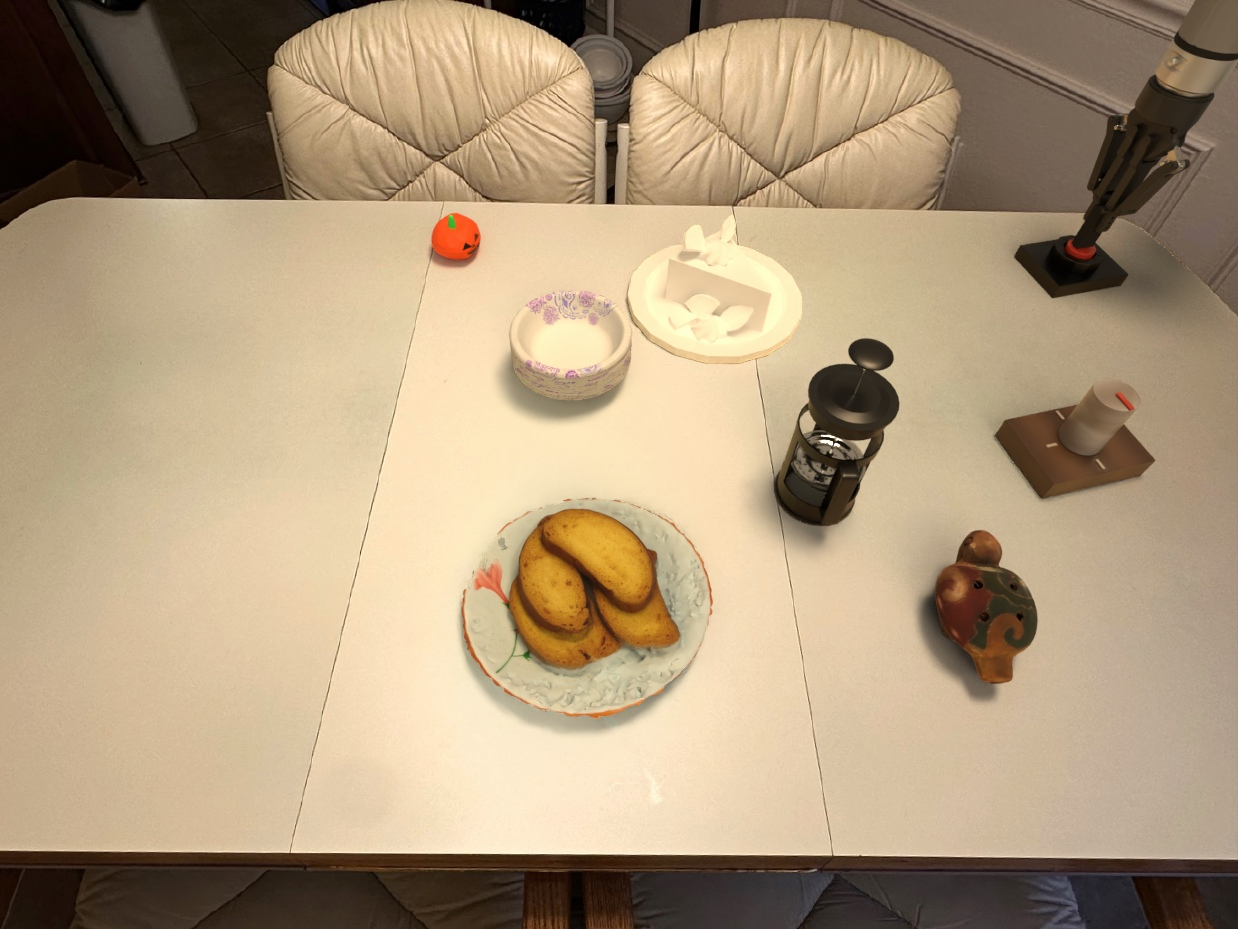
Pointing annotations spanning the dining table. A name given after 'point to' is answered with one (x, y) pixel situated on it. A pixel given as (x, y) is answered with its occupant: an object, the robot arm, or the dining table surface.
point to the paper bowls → (571, 344)
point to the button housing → (1069, 268)
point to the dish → (714, 299)
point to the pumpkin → (455, 236)
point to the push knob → (1079, 251)
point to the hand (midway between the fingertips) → (1082, 244)
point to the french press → (839, 433)
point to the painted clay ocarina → (985, 607)
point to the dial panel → (1068, 454)
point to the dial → (1098, 416)
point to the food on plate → (587, 607)
